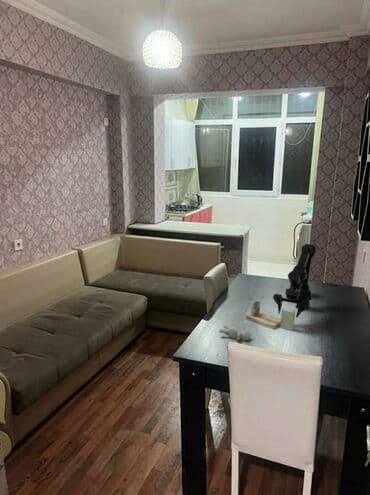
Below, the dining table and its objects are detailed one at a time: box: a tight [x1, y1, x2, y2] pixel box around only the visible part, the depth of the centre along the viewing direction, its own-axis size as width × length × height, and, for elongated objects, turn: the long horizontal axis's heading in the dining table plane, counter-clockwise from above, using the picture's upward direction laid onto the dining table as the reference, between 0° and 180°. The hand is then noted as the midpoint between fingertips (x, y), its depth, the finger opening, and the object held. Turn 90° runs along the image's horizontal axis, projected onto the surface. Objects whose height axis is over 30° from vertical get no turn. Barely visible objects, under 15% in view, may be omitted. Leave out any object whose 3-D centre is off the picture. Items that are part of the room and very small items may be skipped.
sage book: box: [280, 308, 296, 331], centre depth 189 cm, size 3×6×10 cm, turn 59°
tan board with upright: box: [245, 299, 281, 330], centre depth 197 cm, size 10×18×10 cm, turn 43°
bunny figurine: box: [218, 324, 252, 342], centre depth 179 cm, size 10×5×15 cm
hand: (287, 315), depth 188 cm, fingers open, 9 cm apart
